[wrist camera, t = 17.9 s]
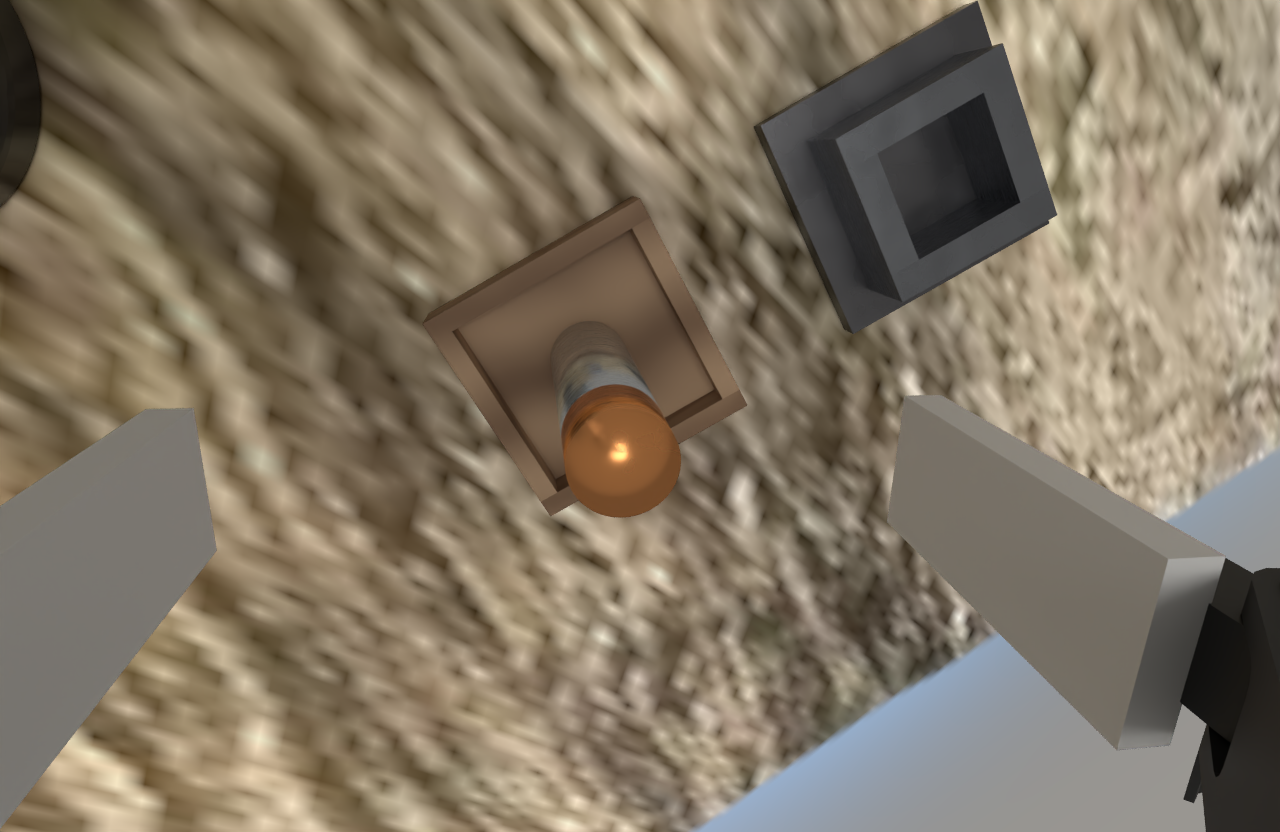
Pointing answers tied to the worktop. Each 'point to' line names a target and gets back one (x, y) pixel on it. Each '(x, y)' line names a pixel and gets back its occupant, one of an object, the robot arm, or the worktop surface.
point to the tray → (568, 294)
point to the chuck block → (910, 167)
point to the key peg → (610, 424)
